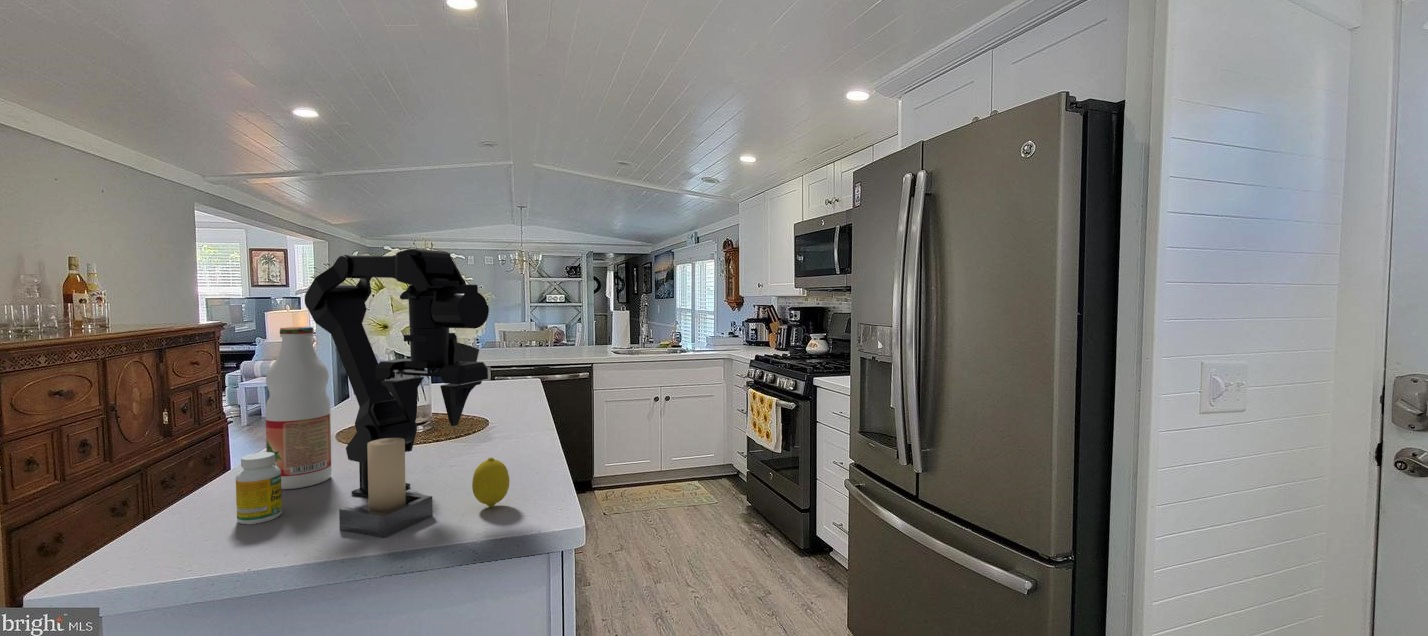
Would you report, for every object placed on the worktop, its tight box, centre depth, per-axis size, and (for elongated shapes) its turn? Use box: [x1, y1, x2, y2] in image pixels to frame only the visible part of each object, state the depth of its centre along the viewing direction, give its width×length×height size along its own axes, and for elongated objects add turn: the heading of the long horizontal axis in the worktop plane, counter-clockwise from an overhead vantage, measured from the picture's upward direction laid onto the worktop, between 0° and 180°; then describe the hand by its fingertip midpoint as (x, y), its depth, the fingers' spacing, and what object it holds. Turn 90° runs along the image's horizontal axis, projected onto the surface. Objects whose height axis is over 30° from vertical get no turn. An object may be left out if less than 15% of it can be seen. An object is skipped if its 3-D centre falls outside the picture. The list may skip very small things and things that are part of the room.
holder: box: [338, 492, 434, 539], centre depth 84 cm, size 8×8×3 cm
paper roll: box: [367, 438, 407, 513], centre depth 84 cm, size 5×5×12 cm
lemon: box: [471, 457, 510, 508], centre depth 90 cm, size 6×6×8 cm
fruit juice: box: [264, 326, 332, 490], centre depth 102 cm, size 9×9×28 cm
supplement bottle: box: [235, 451, 283, 525], centre depth 85 cm, size 5×5×10 cm
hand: (433, 423), depth 92 cm, fingers open, 9 cm apart
